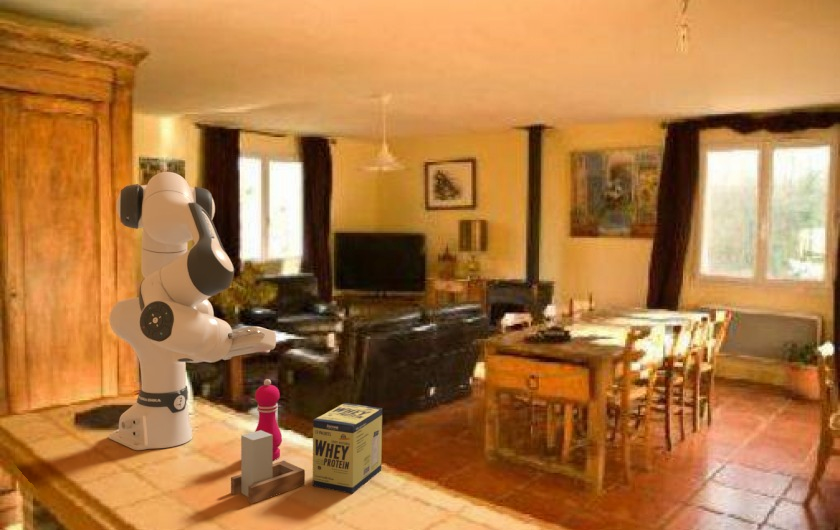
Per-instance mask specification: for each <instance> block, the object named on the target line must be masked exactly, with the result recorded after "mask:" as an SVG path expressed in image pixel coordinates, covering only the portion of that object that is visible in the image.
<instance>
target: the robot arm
mask: <svg viewBox="0 0 840 530" xmlns="http://www.w3.org/2000/svg"><path fill="white" fill-rule="evenodd" d="M115 207H116V208H115V209H116V213H117V216H118V219H120V220H119V221H120V223H121V224H122V225H123V226H124V227H128V228H130V229H136V230H138V229H142V235H141V236H142V237H141V261H140V262H141V264H140V266H141V268H140V269H141V275H142V276H143V278H144V279H142V281H141V283H140V284H139V289H138V296H135V297H130V298H125V299H121V300H117V302H115V304H114V305H113V306H112V307H111V310H110V312H109V313H110V314H109V317H108V319H109V321H108V322H109V326H110V329H111V330H112V332H113V333H114V334H115V335H116V336H117V337H118V338H120V339H122V340H123V341H125V342H126V343H128V345H129V346H130V347H131V348H132V349H133V351H134V353H135V354H136V356H137V358H138V362H139V368H140V377H141V388H140V389H138V390H137V389H136V390H135V391H134V393H135V394H134V395H135V396H137V395H138V396H137V399H136V402H135V403H134V404H132V406H131V407H129V408H128V409H127V410H126V411H124V412H123V413H122V414H121V415H120V417H119V421H118V429H116V430H113V431H112V432H110V434H109V435H108V439H110V440H111V441H114V442H116V443H119V444H120V445H123V446H125V447H127V448H130V449H132V450H134V451H142V450H151V449H165V448H166V449H167V448H171V447H172V448H173V447H177V446H181V445H183V444H186V443H188V442H189V441H191V440H192V439H193V437H194V436H193V430H194V429H193V426H192V425H191V420H190V418H191V417H190V411H189V409H190V408H189V404H188V402H187V401H188V398H189V396H188V393H189V390H188V385H186V382H187V381H186V380H187V379H186V378H187V377H186V375H187V374H186V372H187V371H186V369H187V368H186V363H191V364H199V363H203V362H205V363H216V362H219V361H221V360H224V361H226V360H231V359H232V358H233V357H236V356H242V355H248V354H255V353H262V354H266V353H270V351H271V350H274V349H275V348H276V345H277V334H276V332H275V331H274V330H271V329H267V328H265V327H261V326H245V327H239V328H235V329H232V327H231V325H230V324H229V323H228V322H227V321H225V320H223V319H221V318H218V317H217V316H215V314H214V308H213V305H212V303H211V302H210V301H209V299H210V298H212V297H213V296H216V295H218V294H219V293H222V292H223V291H225V290H228V289H229V288H230V287H231V286H232V283H233V280H234V276H235V275H234V274H235V268H234V265H233V263H232V261H231V258H230V257H229V256H228V254H227V252H226V250H225V248H224V246H223V243H222V242H221V241H222V240H221V238H220V236H219V234H218V232H217V229H216V227H215V224H214V221H213V219H214V217H215V213H216V205H215V200H214V198H213V196H212V193H211V191H210V190H209V189H206V188H203V187H199V186H194V187H192V186H190V184H188V181H187V180H186V179H185V178H184V177H183V176H181V175H180V174H178V173H176V172H170V171H162V172H159V173H157V174H155V175H153V176H152V177H151V178H150V179H149V180H148V182H147V184H142V185H141V184H138V183H137V184H136V183H135V184H129V185H126V186H124V187H123V188H121V189H120V193H119V194H118V197H117V199H116V203H115ZM190 241H193V243H194V244H193V245H192V246H191V247H190V248H189V249H188V243H189V242H190Z"/></svg>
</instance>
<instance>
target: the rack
mask: <svg viewBox="0 0 840 530" xmlns="http://www.w3.org/2000/svg"><path fill="white" fill-rule="evenodd" d="M305 473H306V470H305V469H304V468H301V467H299V466H297V465H295V464H292V463H290V462H288V461H286V460H281V461H278V462H274V463H273V478H271V479H268V480H265V481H262V482H259V483H256V484H253V485H250V486H248V496H247V498H248V499H247V501H248V503H249V504H251V505H253V504H255V503H259V502H261V501H263V499H264V500H266V499H265V498H267V499H269V498H268V497H270V498H272V497H275V496H277V495H276V494H278V495H280V494H279V493H281V494H283V493H286V492H288V490H289V491H291V489H292V490H294V488H295V489H297V488H299V487H302V486H306V484H305V483H306V482H305V481H306V480H305V476H306V475H305ZM285 491H286V492H285ZM282 492H283V493H282ZM230 493H231V494H232V493H233V494H232V495H237V494H240V493H241V473H239V474H237V475H234V476H231V477H230ZM274 495H275V496H274ZM271 496H272V497H271Z"/></svg>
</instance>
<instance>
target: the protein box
mask: <svg viewBox="0 0 840 530" xmlns="http://www.w3.org/2000/svg"><path fill="white" fill-rule="evenodd" d="M382 426H383V408H382V407H376V406H368V405H361V404H354V403H347V402H343V403H342V404H339V405H337V407H335V408H333V409H331V410H329V411H327V412H326V413H324V414H322V415H320V416H318V417H316V418H314V419H313V420H312V486H313V487H316V488H320V489H321V488H323V489H327V490H333V491H338V492H341V493H347V494H354V493H355V492H356V491H358V490H359V489H360V488H361V487H362V486H364V485H365V484H366V483H367V482H368V481H370V480H372V478H373V477H375V476H376V475H377V474H378V473H380V472H381V471H382V443H383V442H382V437H383V435H382V434H383V427H382Z"/></svg>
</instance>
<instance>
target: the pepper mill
mask: <svg viewBox="0 0 840 530" xmlns="http://www.w3.org/2000/svg"><path fill="white" fill-rule="evenodd" d="M280 396H281V395H280V390H279V389H278V387H276V386H275V385H273V384H272V381H271V379H268V378H266V379H264V381H263V385H260V386H259V387H258V388H257V389H256V391H255V395H254V398H255V401H256V402H257V405H256V406H257V408H256V410H257V412H258V422H257V426H256V429H255V430H254V432H256V431H260V430H262V431H264V432H267V433H269V434H272V435H273V461H276V460H277V458H278V459H279V458H280V456H281V448H280V445H281V444H282V442H283V436H282V432H281V429H280V428H279V427H280V426H279V425H278V422H277V417H276V413H277V410H278V409H279V408H278V403H277V402H279V400H280ZM275 459H276V460H275Z"/></svg>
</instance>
